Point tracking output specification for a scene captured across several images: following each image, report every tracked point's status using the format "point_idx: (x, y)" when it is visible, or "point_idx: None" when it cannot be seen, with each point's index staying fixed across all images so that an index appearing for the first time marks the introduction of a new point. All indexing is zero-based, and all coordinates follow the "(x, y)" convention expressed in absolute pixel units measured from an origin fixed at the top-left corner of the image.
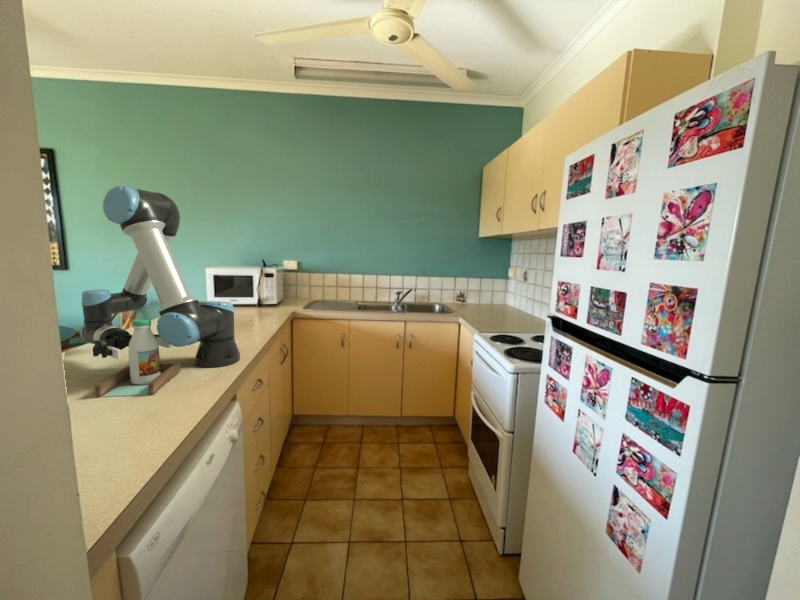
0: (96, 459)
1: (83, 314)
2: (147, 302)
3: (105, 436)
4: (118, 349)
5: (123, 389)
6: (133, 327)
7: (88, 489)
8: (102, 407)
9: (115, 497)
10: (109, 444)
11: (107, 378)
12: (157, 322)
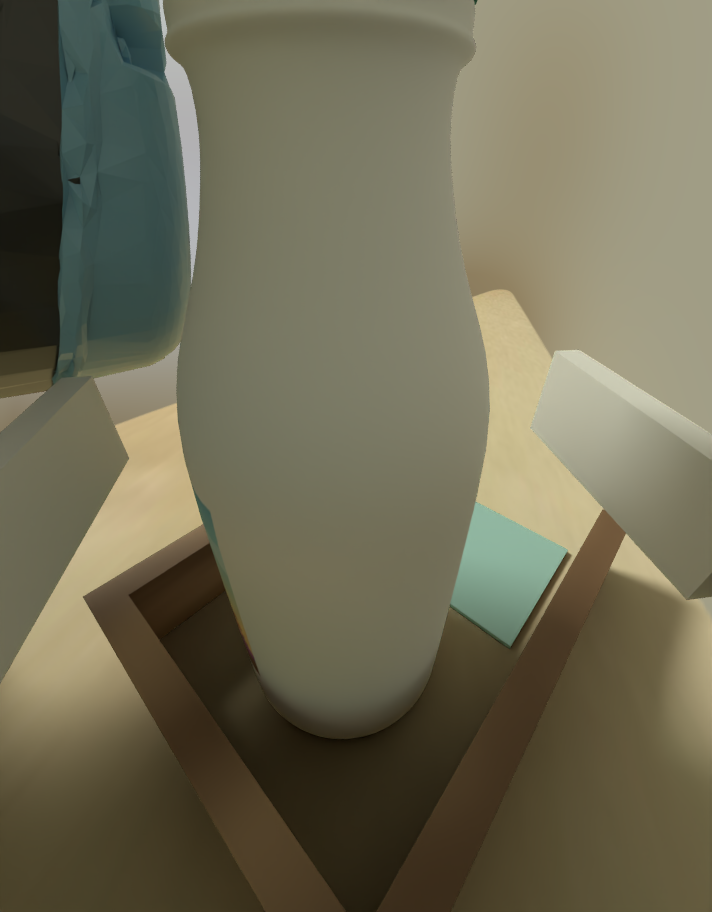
0: (520, 332)
1: None
2: None
3: (515, 362)
4: (577, 360)
5: (480, 572)
6: (468, 59)
7: (520, 309)
8: (546, 466)
9: (492, 298)
10: (506, 346)
11: (590, 598)
12: (159, 6)
